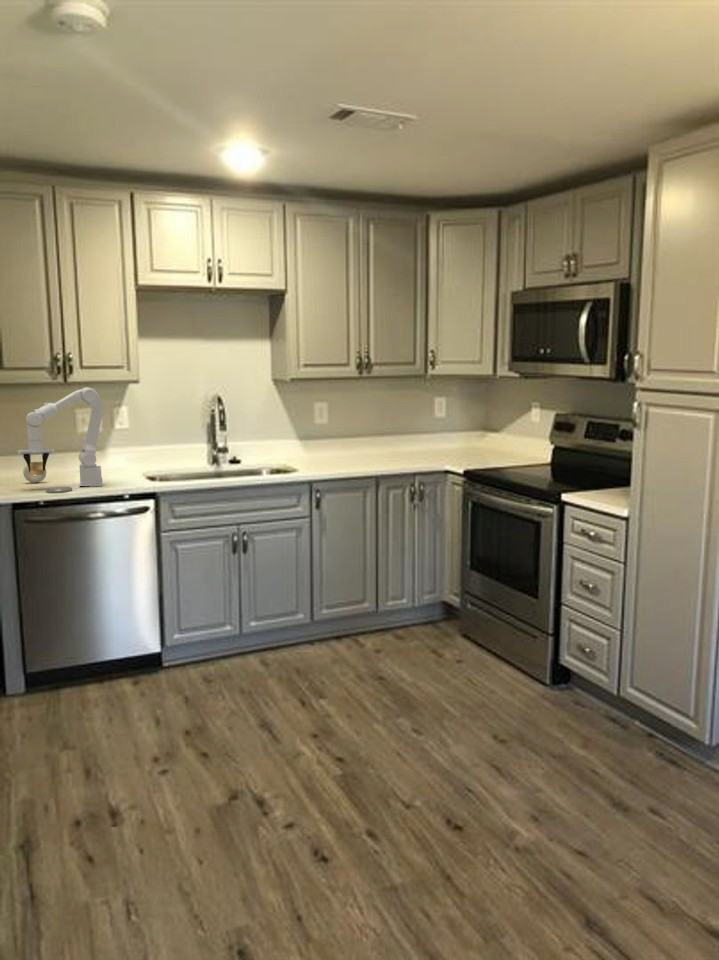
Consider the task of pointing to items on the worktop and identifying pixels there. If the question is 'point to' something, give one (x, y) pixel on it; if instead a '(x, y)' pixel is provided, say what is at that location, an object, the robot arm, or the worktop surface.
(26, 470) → the donut
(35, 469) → the cube
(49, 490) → the plate
